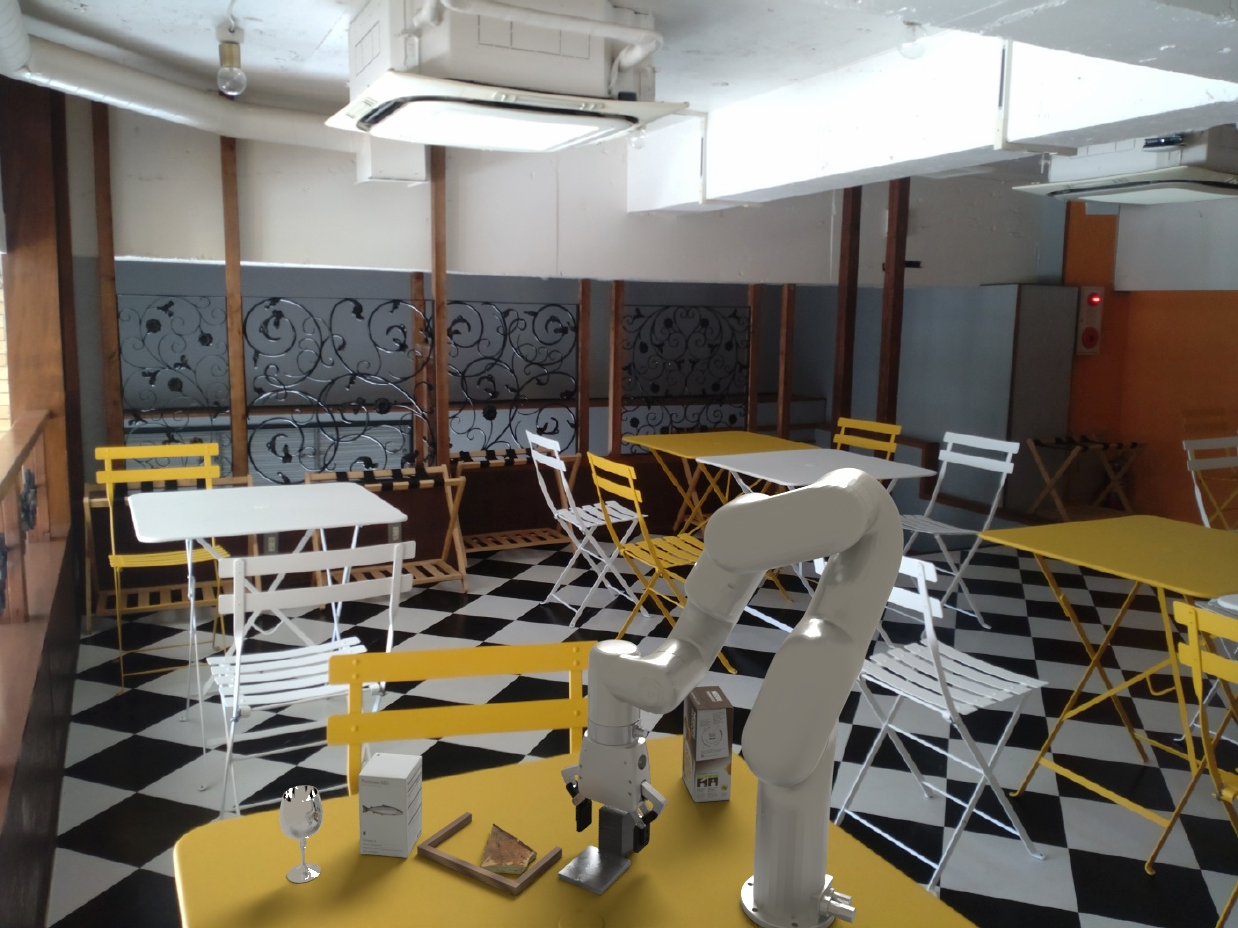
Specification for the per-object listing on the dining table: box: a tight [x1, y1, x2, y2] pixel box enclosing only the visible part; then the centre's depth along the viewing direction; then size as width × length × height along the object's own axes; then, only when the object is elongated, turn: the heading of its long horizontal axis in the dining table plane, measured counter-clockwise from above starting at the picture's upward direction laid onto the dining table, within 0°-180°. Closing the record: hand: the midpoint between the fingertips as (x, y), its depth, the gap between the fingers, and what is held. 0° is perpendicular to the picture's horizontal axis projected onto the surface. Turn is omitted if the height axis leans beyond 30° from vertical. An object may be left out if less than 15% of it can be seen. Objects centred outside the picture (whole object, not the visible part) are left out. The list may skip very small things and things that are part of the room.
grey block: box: [557, 804, 637, 896], centre depth 132 cm, size 12×7×7 cm, turn 149°
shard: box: [480, 823, 538, 875], centre depth 135 cm, size 11×8×2 cm
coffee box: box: [681, 685, 735, 803], centre depth 153 cm, size 9×6×16 cm
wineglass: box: [278, 784, 324, 884], centre depth 128 cm, size 6×6×12 cm
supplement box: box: [358, 752, 423, 859], centre depth 136 cm, size 7×7×13 cm
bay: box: [416, 811, 563, 897], centre depth 134 cm, size 18×11×1 cm, turn 59°
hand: (611, 837), depth 134 cm, fingers open, 9 cm apart
